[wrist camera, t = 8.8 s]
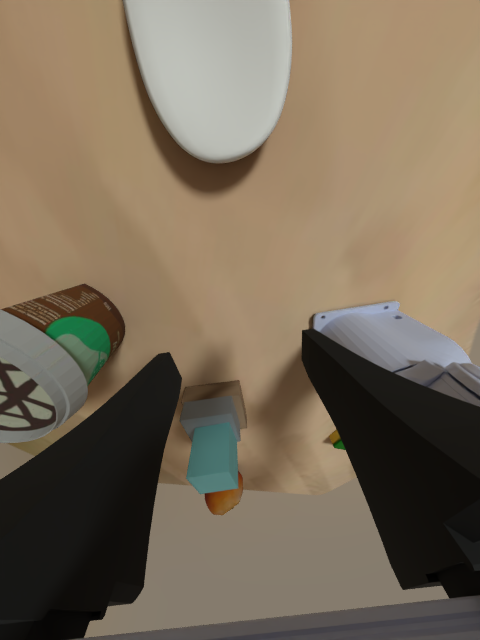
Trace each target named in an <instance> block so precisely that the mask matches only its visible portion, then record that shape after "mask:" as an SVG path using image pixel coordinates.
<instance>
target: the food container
mask: <svg viewBox="0 0 480 640" xmlns="http://www.w3.org/2000/svg"><path fill="white" fill-rule="evenodd" d="M124 335H125V324H124V320H123V318H122V316H121V314H120V312H119V311H118V309H117V308H116V307H115V305H114V304H113V303H112V302H111V301H110V300H109V299H108V298H107V297H105V296H104V295H103V294H102V293H100V292H99V291H97V290H96V289H94V288H92V287H90V286H88V285H86V284H82V285H78V286H75V287H72V288H69V289H65V290H62V291H59V292H56V293H53V294H49V295H46V296H43V297H40V298H36V299H33V300H30V301H27V302H23V303H20V304H17V305H14V306H10V307H7V308H4V309H1V310H0V443H17V442H25V441H30V440H34V439H38V438H40V437H43V436H45V435H46V434H48V433H49V432H51V431H52V430H54V429H56V428H58V427H59V426H60V425H62V424H63V423H64V422H65V421H67V420H68V419H69V418H70V417H71V416H72V415H74V414H75V413H76V412H77V411H78V410H79V409H80V408H81V407H82V406H83V405H84V403H85V401H86V399H87V394H88V387H87V386H88V385H89V383H90V382H91V381H92V380H93V378H94V377H95V376H96V374H97V373H98V372H99V370H100V369H101V368H102V366H103V365H104V364H105V362H106V361H107V360H108V359H109V357H110V356H111V355H112V353H113V352H114V351H115V349H116V348H117V347H118V345H119V344H120V343H121V341H122V340H123V338H124Z"/></svg>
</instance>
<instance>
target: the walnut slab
mask: <svg viewBox="0 0 480 640" xmlns="http://www.w3.org/2000/svg"><path fill="white" fill-rule="evenodd" d="M231 395H232V399H233V402H234V405H235V409H236V412H237V415H238V419H239V422H240V429H244V428H247V417H246V410H245V405H244V400H243V396H242V391H241V386H240V381H239V380H237V381H229V382H221V383H214V384H206V385H198V386H191V387H185V391H184V394H183V398H182V401H181V403H182V405H183V406H184V402H190V401H197V400H204V399H212V398H217V397H224V396H231Z"/></svg>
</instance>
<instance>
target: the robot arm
mask: <svg viewBox="0 0 480 640" xmlns="http://www.w3.org/2000/svg"><path fill="white" fill-rule="evenodd" d="M399 305H400V304H399V303H398V302H396V301H391V302H385V303H378V304H372V305H366V306H359V307H353V308H347V309H340V310H334V311H328V312H322V313H317V314H315V315H314V317H313V329H308V330H302V362H303V364H304V367H305V369H306V372H307V374H308V377H309V378H310V380H311V382H312V384H313V386H314V388H315V390H316V391H317V393H318V395H319V397H320V399H321V400H322V402H323V404H324V406H325V408H326V410H327V411H328V413H329V415H330V417H331V419H332V421H333V423H334V425H335V427H336V429H337V431H338V434H339V436H340V438H341V440H342V443H343V445H344V447H345V449H346V452H347V454H348V457H349V459H350V461H351V464H352V466H353V468H354V471H355V473H356V476H357V478H358V481H359V483H360V486H361V488H362V491H363V493H364V495H365V498H366V501H367V503H368V506H369V508H370V511H371V513H372V516H373V519H374V521H375V524H376V527H377V529H378V532H379V534H380V537H381V540H382V542H383V545H384V548H385V551H386V553H387V556H388V559H389V562H390V564H391V567H392V569H393V571H394V573H395V575H396V577H397V579H398V582H399V583H400V586H401V587H402V589H403V590H406V589H415V588H423V587H432V586H443V588H444V590H445V591H446V593H447V595H448V596H449V598H450V599H441V600H431V601H422V602H413V603H404V604H395V605H385V606H376V607H367V608H357V609H348V610H340V611H331V612H321V613H311V614H302V615H293V616H283V617H274V618H266V619H256V620H247V621H238V622H228V623H219V624H209V625H200V626H191V627H182V628H173V629H163V630H154V631H146V632H135V633H126V634H117V635H108V636H99V637H89V638H84V636H85V633H86V630H87V627H88V624H89V622H90V621H93V620H102V619H103V617H104V616H105V613H106V610H107V607H108V606H114V605H123V604H131V603H133V602H134V601H135V600H136V598H137V597H138V595H139V594H140V593H141V591H142V589H143V587H144V579H145V569H146V561H147V552H148V544H149V536H150V529H151V522H152V515H153V508H154V502H155V495H156V490H157V484H158V478H159V473H160V468H161V463H162V458H163V452H164V448H165V444H166V440H167V437H168V434H169V430H170V427H171V423H172V420H173V416H174V413H175V410H176V406H177V402H178V399H179V394H180V389H181V381H182V377H181V375H180V373H179V371H178V369H177V367H176V365H175V363H174V360H173V358H172V356H171V354H170V352H167V353H161V354H158V355H157V356H156V357H154V358H153V359H152V360H151V361H150V362H149V363H148V364H147V365H146V366H145V367H144V368H143V369H142V370H141V371H140V372H139V373H137V374H136V375H135V376H134V377H133V378H132V379H131V380H130V381H129V382H128V383H127V384H126V385H125V386H124V387H123V388H122V389H120V390H119V391H118V392H117V393H116V394H115V395H114V396H113V397H111V398H110V399H109V400H108V401H107V402H106V403H105V404H104V405H102V406H101V407H100V408H99V409H98V410H96V411H95V412H94V413H93V414H92V415H90V416H89V417H88V418H87V419H85V420H84V421H83V422H82V423H80V424H79V425H78V426H76V427H75V428H74V429H73V430H71V431H70V432H68V433H67V434H66V435H64V436H63V437H62V438H60V439H59V440H57V441H56V442H55V443H53V444H52V445H50V446H49V447H48V448H46V449H45V450H44V451H42V452H41V453H39V454H38V455H37V456H35V457H34V458H32V459H31V460H29V461H28V462H26V463H25V464H24V465H22V466H20V467H19V468H17V469H16V470H14V471H13V472H11V473H10V474H8V475H7V476H5V477H4V478H2V479H1V480H0V640H480V367H479V366H477V365H475V364H472V363H471V361H470V359H469V357H468V356H467V354H466V353H465V352H464V350H463V349H462V348H461V347H460V346H459V345H458V344H457V343H456V342H454V341H453V340H452V339H450V338H448V337H447V336H445V335H443V334H441V333H439V332H437V331H436V330H434V329H432V328H430V327H428V326H426V325H424V324H423V323H421V322H419V321H417V320H415V319H413V318H411V317H409V316H408V315H406V314H404V313H402V312H400V311H398V308H399ZM384 307H385V308H384ZM322 316H324V317H323V318H321V317H322Z"/></svg>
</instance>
